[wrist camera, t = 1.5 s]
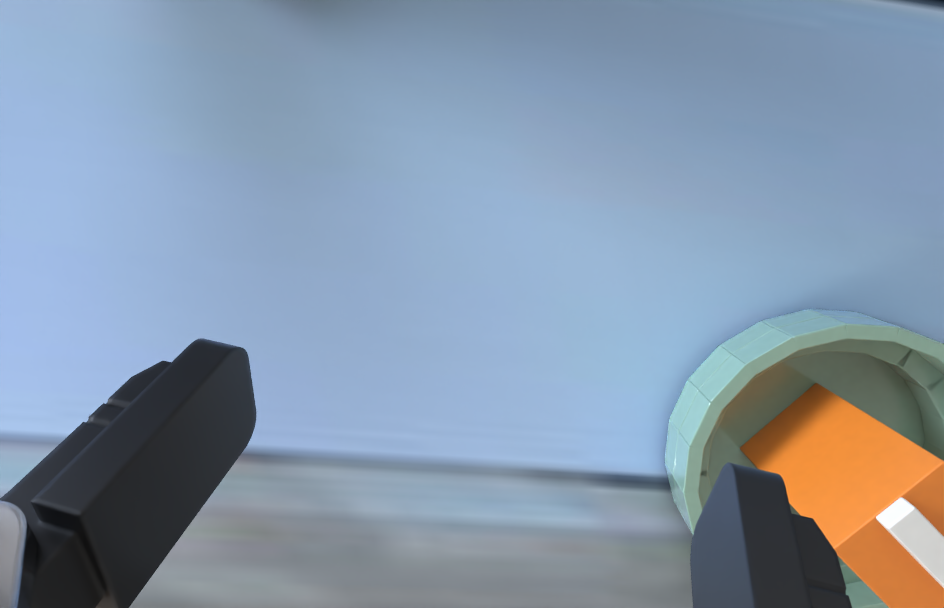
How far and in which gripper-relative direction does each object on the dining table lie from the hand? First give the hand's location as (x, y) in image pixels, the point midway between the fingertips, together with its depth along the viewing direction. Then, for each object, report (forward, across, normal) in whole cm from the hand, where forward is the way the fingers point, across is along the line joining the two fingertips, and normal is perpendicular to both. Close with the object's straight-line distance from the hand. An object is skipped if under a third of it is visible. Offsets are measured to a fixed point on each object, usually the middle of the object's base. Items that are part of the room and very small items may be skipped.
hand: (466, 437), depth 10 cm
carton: (+19, -15, +15) cm, 28 cm away
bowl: (+19, -15, +15) cm, 28 cm away
